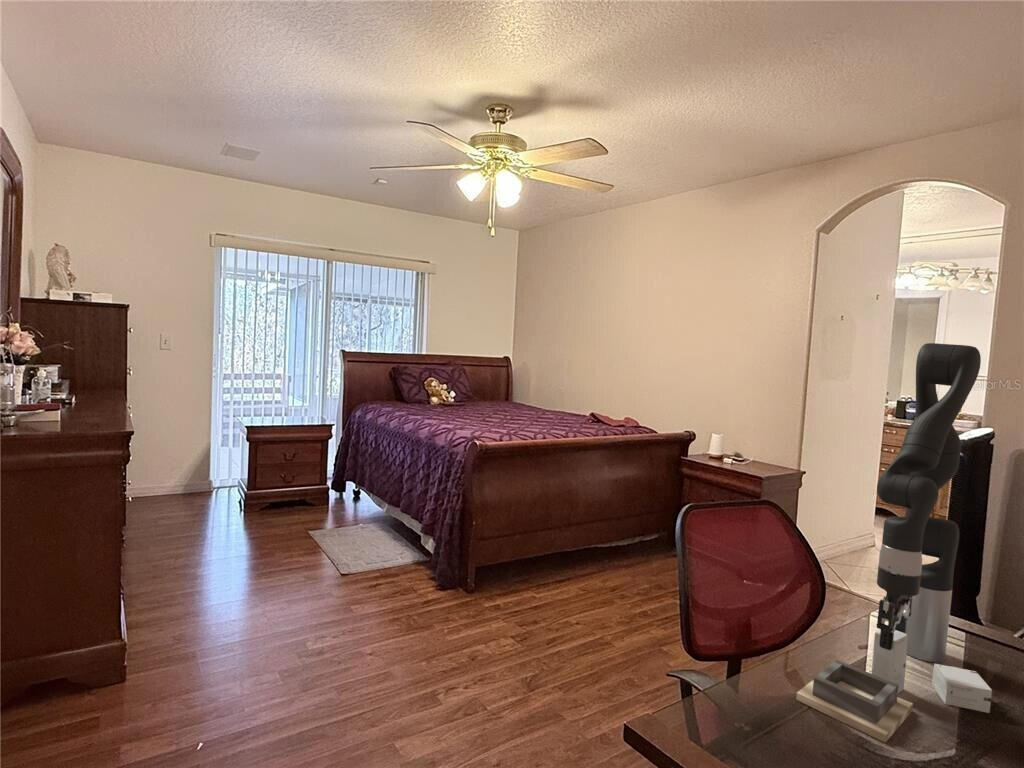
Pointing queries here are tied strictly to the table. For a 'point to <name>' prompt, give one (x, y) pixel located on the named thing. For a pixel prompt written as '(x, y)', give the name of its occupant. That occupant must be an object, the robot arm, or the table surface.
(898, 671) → the skincare box
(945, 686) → the small box
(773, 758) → the table surface
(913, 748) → the table surface
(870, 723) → the keyed socket block
